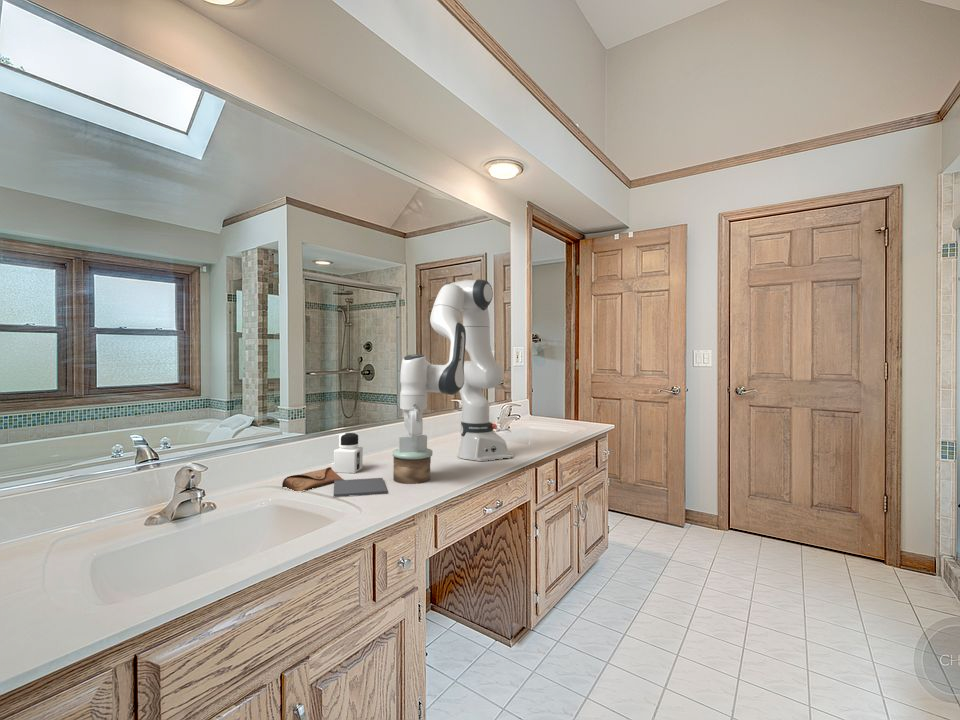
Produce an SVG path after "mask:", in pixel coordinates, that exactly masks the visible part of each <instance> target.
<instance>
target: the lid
mask: <svg viewBox="0 0 960 720" xmlns="http://www.w3.org/2000/svg"><path fill="white" fill-rule="evenodd" d="M392 456H393V458H394V457H396V458H400V459H406V460H417V459H424V458H428V457H431V458H432V457H433V450H432V449H431V448H428V435H426V434H422V436H418V438H417V446H416V447H412V446H411V435H410V436H409V435H398V448H396V449H394V450H393V451H392Z"/></svg>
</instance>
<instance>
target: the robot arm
mask: <svg viewBox="0 0 960 720" xmlns="http://www.w3.org/2000/svg"><path fill="white" fill-rule="evenodd" d="M493 292H494V291H493V288H492V285H491V284H490V282H489V281H488V280H485V279H464V280H460V281H454V282H451V281H450V282H447V283H445V284H443V285H441V287H440V289H439V291H438V293H437V295H436V298H435V300H434V302H433V306H432V309H431V312H430V317H429V323H430V325H431V329H432V328H433V330H434V332H436V333H437V334H438V335H440V336H441V337H443V338H446V339H448V340H449V341H450V346H449V347H450V348H449V358H448V362H447V363H445V364H432V363H430V362H429V361H428V360H427V358H426V355H424V354H419V353H416V354H415V353H414V354H408V355H405V356H404V357H402V360H401V363H400V364H401V365H400V376H399V378H400V379H399V380H400V381H399V382H400V385H401V386H400V387H401V388H400V392H399V395H400V396H399V408H400V410H403V412H402V413H403V422H404V423H403V424H404V427H405V429H406V430H407V432H408V436H410V435H411V446H412V447H416V446H417V438H418V436H422V435H423V429H424V428H423V425H424V424H423V414H424V410H427V408H428V406H427V405H428V393H438V394H444V395H445V394H446V395H451V396H454V395H456V394H458V392H459V395H460V399H461V414H462V415H461V421H460V422H461V423H460V435H461V436H460V444H459V450H458V453H457V457H458V458H460V459H464V460H470V461H471V460H472V461H477V462H487V461H488V460H489V461H496V460H495V459H499V460H504V459H503V458H508V459H512V458H511V457H514V455H513V453H512V452H510V451H508V445H507V442H506V441H505V439H504V438H502V437H501V436H500V435H499V434H498V433H497V432H495V431H494V430H497V428H498V425H497V424H496V423H493V422H490V403H489V401H488V399H486V397H485V396H484V393H483V390H488V389H494V388H497V387H499V386H500V385H501V383H502V382H503V380H504V379H503V378H504V372H503V368H502V367H501V365H500V364H498V362H497V361H496V359H495V357H494V355H493V352H492V348H491V346H492V345H491V329H490V328H491V325H490V324H491V322H490V314H489V306H490V304H491V302H492V300H493V297H494V296H493V295H494V293H493ZM466 351H467V353H468V355H469V359H470V360H465V357H466V355H465V354H466ZM427 392H428V393H427Z"/></svg>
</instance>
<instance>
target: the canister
mask: <svg viewBox="0 0 960 720" xmlns="http://www.w3.org/2000/svg"><path fill="white" fill-rule="evenodd" d="M431 458H432V456H431V457H428V458H424V459H417V460H406V459H400V458H396V457H394V456H393V470H392V471H393V474H392V475H393V477H392V478H393V481H394V482H395V483H398V484H404V485H405V484H406V485H413V484H414V485H415V484H416V483H417V484H422V483H423V484H424V483H427V482H429V481H430V480H431V460H432V459H431Z"/></svg>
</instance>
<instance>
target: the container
mask: <svg viewBox="0 0 960 720" xmlns="http://www.w3.org/2000/svg"><path fill="white" fill-rule="evenodd" d="M338 447H339V448H336V449H334V450H333V469H332V470H333V471H334V472H335V473H336V474H338V473H339V474H356V473H357V472H359V471H360V470H362V469H363V462H364V460H363V454H364V453H363V449H364V448H363V446H359V435H358V434H357V433H355V432H343V433H341V434H339V435H338Z"/></svg>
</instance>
